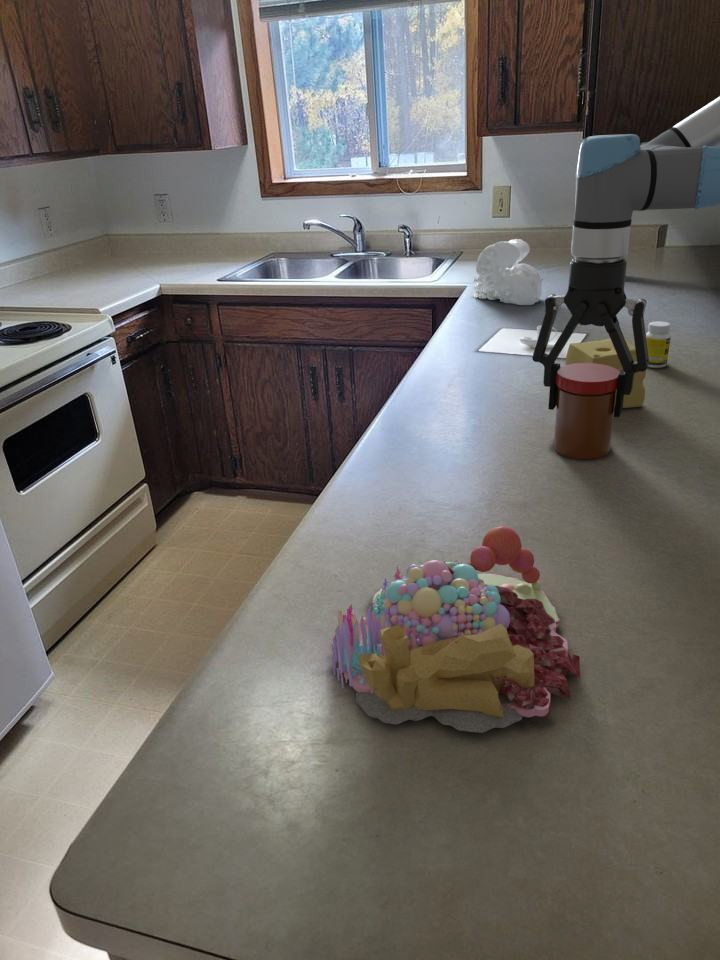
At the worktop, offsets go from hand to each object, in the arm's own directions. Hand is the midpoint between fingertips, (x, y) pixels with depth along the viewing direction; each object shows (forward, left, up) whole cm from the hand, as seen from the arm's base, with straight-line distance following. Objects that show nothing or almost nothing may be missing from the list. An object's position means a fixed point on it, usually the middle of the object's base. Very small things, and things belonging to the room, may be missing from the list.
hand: (584, 410), depth 112 cm
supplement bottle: (-5, -46, -6) cm, 47 cm away
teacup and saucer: (+22, -55, -6) cm, 60 cm away
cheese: (+1, -22, -6) cm, 23 cm away
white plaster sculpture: (+40, -95, -6) cm, 103 cm away
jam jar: (0, 0, -6) cm, 6 cm away
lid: (0, 0, +6) cm, 6 cm away
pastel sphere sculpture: (+2, +53, -6) cm, 53 cm away
